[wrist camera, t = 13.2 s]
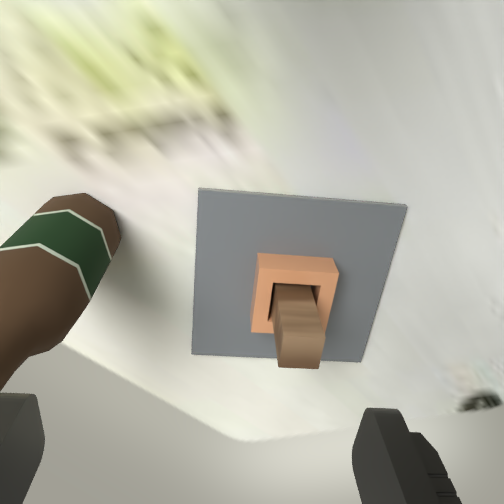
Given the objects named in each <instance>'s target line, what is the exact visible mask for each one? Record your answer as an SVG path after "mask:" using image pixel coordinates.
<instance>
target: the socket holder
mask: <svg viewBox="0 0 504 504" xmlns="http://www.w3.org/2000/svg"><path fill="white" fill-rule="evenodd" d="M406 210H407V206H406V205H405V204H394V203H382V202H369V201H357V200H345V199H332V198H320V197H308V196H295V195H283V194H271V193H259V192H246V191H234V190H222V189H209V188H199V189H198V211H197V235H196V259H195V282H194V306H193V330H192V353H191V354H194V355H215V356H236V357H258V358H277V353H276V345H275V338H274V331H273V323H272V316H271V308H270V300H271V293H272V286H273V283H288V284H304V285H310V287H311V290H312V293H313V297H314V300H315V304H316V307H317V310H318V314H319V317H320V320H321V324H322V327H323V330H324V334H325V337H326V339H325V343H324V347H323V351H322V356H321V361H342V362H361V360H362V356H363V353H364V350H365V346H366V343H367V340H368V336H369V333H370V330H371V326H372V323H373V320H374V316H375V313H376V310H377V306H378V303H379V300H380V296H381V293H382V290H383V286H384V283H385V280H386V276H387V273H388V270H389V266H390V263H391V260H392V256H393V253H394V250H395V246H396V243H397V240H398V237H399V233H400V230H401V227H402V223H403V220H404V217H405V213H406Z"/></svg>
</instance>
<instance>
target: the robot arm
mask: <svg viewBox="0 0 504 504" xmlns="http://www.w3.org/2000/svg"><path fill="white" fill-rule="evenodd" d="M44 444H45V436H44V430H43V425H42V420H41V416H40V411H39V406H38V401H37V397H36V395H34V394H20V393H0V504H22V503H23V501H24V499H25V496H26V494H27V492H28V489H29V487H30V485H31V483H32V480H33V478H34V476H35V473H36V471H37V469H38V466H39V464H40V462H41V459H42V455H43V451H44ZM352 465H353V471H354V476H355V479H356V483H357V487H358V490H359V494H360V498H361V501H362V504H462V503H461V501H460V499H459V497H457V495H456V490H455V488H454V486H453V484H452V482H451V480H450V479H449V478H448V474H447V471H446V469H445V467H444V465H443V463H442V461H441V459H440V457H439V455H438V452H437V451H436V450H435V449H434V448H433V447H432V446H431V444H430V443H429V442H428V441H427V440H426V439H425V438H424V436H423V435H422V434H421V433H417V432H409V430H408V428H407V425H406V423H405V421H404V418H403V416H402V414H401V413H400V411H399V410H397V409H386V408H367V409H366V410H365V412H364V414H363V417H362V420H361V423H360V426H359V429H358V432H357V435H356V438H355V441H354V445H353V449H352Z"/></svg>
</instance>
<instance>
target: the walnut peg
mask: <svg viewBox="0 0 504 504" xmlns="http://www.w3.org/2000/svg"><path fill="white" fill-rule="evenodd" d="M270 308H271V316H272V323H273V331H274V338H275V345H276V353H277V360H278V367H282V368H305V369H318V368H319V364H320V360H321V356H322V351H323V347H324V343H325V339H326V337H325V334H324V330H323V327H322V324H321V320H320V317H319V314H318V310H317V307H316V304H315V300H314V297H313V293H312V290H311V287H310V285H304V284H288V283H273V286H272V293H271V300H270Z"/></svg>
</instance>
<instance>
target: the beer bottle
mask: <svg viewBox="0 0 504 504" xmlns="http://www.w3.org/2000/svg"><path fill="white" fill-rule="evenodd" d="M120 240H121V235H120V232H119V229H118V225H117V222H116V219H115V216H114V213H113V210H112V209H110V208H109V207H107V206H105V205H104V204H102V203H101V202H99V201H97V200H96V199H94V198H93V197H91V196H89V195H88V194H86V193H80V194H73V195H65V196H58V197H53V198H52V199H50V200H49V201H48V202H46V203H45V204H44V205H43V206H42V207H41V208H40V209H39V210H38V211H37V212H36V213H35V214H34V215H33V216H32V217H31V218H30V219H29V220H28V221H27V222H25V223H24V224H23V225H22V226H21V227H20V228H19V229H18V230H17V231H16V232H15V233H14V234H13V235H12V236H11V237H10V238H9V239H8V240H7V241H6V242H5V243H4V244H3V245H2V246H1V247H0V391H1V390H2V388H3V387H4V385H5V384H6V383H7V381H8V380H9V379H10V377H11V376H12V375H13V373H14V371H16V370H17V368H18V367H20V365H21V364H22V363H23V362H24V361H25V360H26V359H27V358H28V357H30V356H33V355H36V354H40V353H43V352H46V351H49V350H50V349H52V348H53V347H55V346H56V345H57V344H59V343H60V342H62V341H63V339H64V338H65V336H66V335H67V334H68V332H69V331H70V329H71V328H72V327H73V325H74V324H75V323H76V321H77V320H78V318H79V317H80V316H81V314H82V313H83V311H84V310H85V308H86V306H87V305H88V303H89V302H90V300H91V298H92V296H93V294H94V292H95V290H96V288H97V287H98V285H99V283H100V281H101V279H102V277H103V275H104V273H105V271H106V269H107V267H108V265H109V263H110V261H111V259H112V257H113V255H114V253H115V251H116V249H117V247H118V245H119V242H120Z"/></svg>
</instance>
